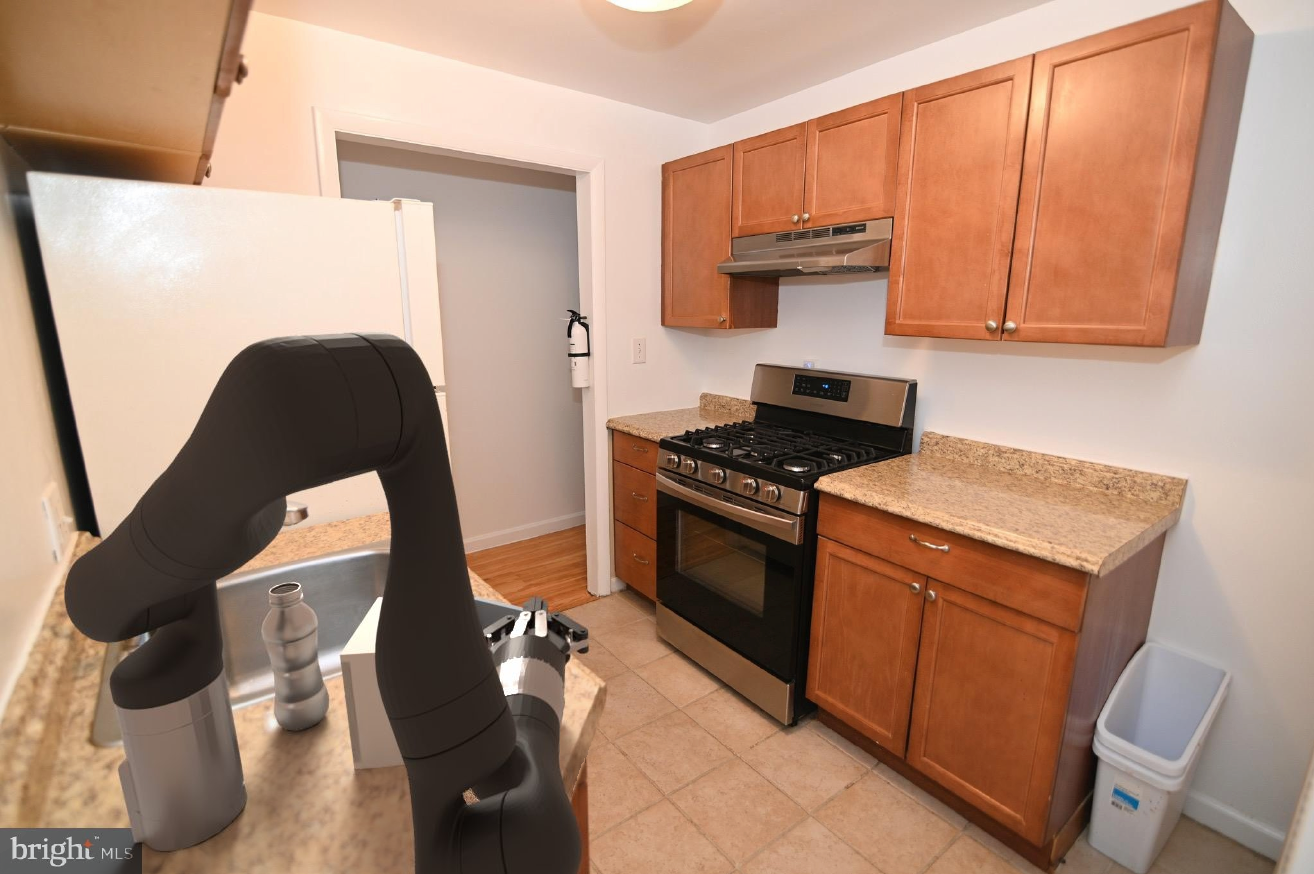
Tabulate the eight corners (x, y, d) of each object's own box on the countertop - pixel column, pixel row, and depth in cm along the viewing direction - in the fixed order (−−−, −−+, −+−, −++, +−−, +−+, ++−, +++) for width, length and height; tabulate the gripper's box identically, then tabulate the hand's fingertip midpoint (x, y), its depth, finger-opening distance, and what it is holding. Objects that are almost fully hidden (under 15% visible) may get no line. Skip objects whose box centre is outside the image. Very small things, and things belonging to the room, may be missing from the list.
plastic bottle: (300, 743, 78) (279, 605, 73) (265, 729, 80) (242, 594, 76) (342, 712, 84) (325, 582, 79) (308, 700, 86) (289, 573, 82)
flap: (550, 711, 83) (547, 615, 80) (472, 687, 88) (466, 596, 85) (554, 707, 84) (550, 612, 80) (476, 683, 89) (470, 593, 86)
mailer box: (354, 769, 74) (339, 654, 70) (389, 696, 87) (378, 597, 84) (454, 760, 75) (444, 648, 72) (473, 690, 89) (466, 592, 85)
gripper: (594, 654, 55) (590, 572, 72) (447, 665, 54) (478, 578, 70) (595, 724, 57) (591, 628, 74) (453, 736, 55) (482, 635, 72)
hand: (536, 604), depth 72 cm, fingers closed
